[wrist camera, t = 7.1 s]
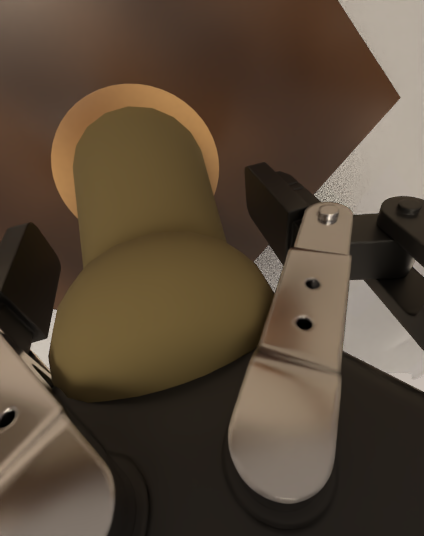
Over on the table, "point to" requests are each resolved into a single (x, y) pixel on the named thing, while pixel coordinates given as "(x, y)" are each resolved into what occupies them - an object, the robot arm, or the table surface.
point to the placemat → (179, 97)
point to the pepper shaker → (150, 267)
